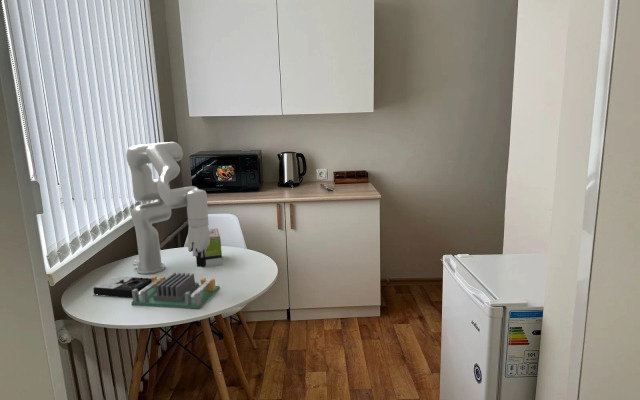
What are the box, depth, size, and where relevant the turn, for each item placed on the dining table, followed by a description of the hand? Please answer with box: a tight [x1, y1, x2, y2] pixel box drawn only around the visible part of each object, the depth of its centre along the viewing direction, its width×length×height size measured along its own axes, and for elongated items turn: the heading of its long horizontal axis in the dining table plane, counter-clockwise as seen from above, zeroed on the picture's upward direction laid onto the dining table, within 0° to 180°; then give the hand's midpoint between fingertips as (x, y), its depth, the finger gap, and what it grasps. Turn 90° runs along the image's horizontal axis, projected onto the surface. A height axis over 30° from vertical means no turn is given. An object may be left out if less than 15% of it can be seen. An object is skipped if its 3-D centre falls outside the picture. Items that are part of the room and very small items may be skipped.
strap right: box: [189, 280, 210, 299], centre depth 170 cm, size 2×15×1 cm, turn 169°
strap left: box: [136, 278, 161, 296], centre depth 175 cm, size 2×15×1 cm, turn 169°
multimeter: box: [93, 275, 152, 299], centre depth 182 cm, size 13×19×5 cm
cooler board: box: [131, 272, 221, 310], centre depth 174 cm, size 28×19×7 cm
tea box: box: [204, 228, 223, 268], centre depth 213 cm, size 15×10×15 cm
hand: (201, 266), depth 172 cm, fingers closed
